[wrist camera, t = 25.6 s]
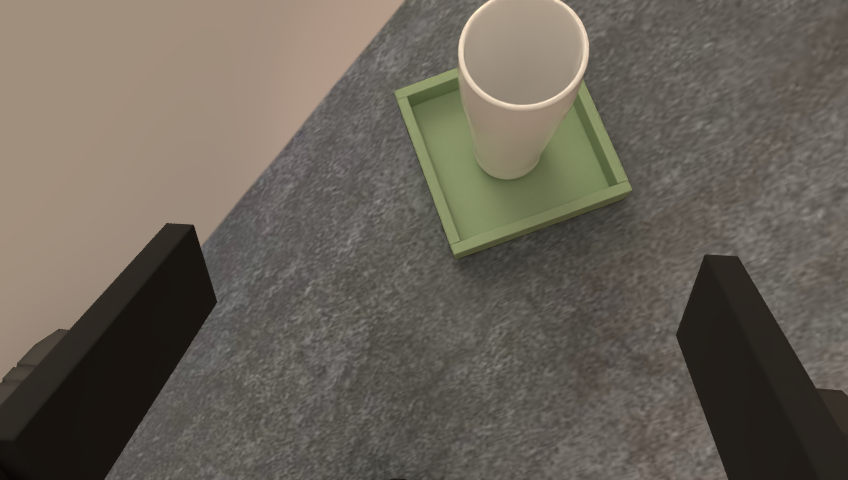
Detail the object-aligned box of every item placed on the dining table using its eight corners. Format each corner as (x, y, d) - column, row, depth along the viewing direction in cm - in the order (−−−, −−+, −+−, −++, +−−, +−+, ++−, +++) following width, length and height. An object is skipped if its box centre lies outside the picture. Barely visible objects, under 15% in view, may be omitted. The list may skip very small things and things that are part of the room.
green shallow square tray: (398, 105, 44) (393, 91, 42) (555, 46, 44) (560, 28, 41) (455, 260, 42) (453, 254, 39) (623, 199, 41) (633, 190, 39)
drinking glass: (569, 139, 42) (618, 32, 27) (516, 208, 41) (538, 136, 27) (497, 92, 43) (508, -35, 28) (445, 158, 43) (429, 63, 28)
